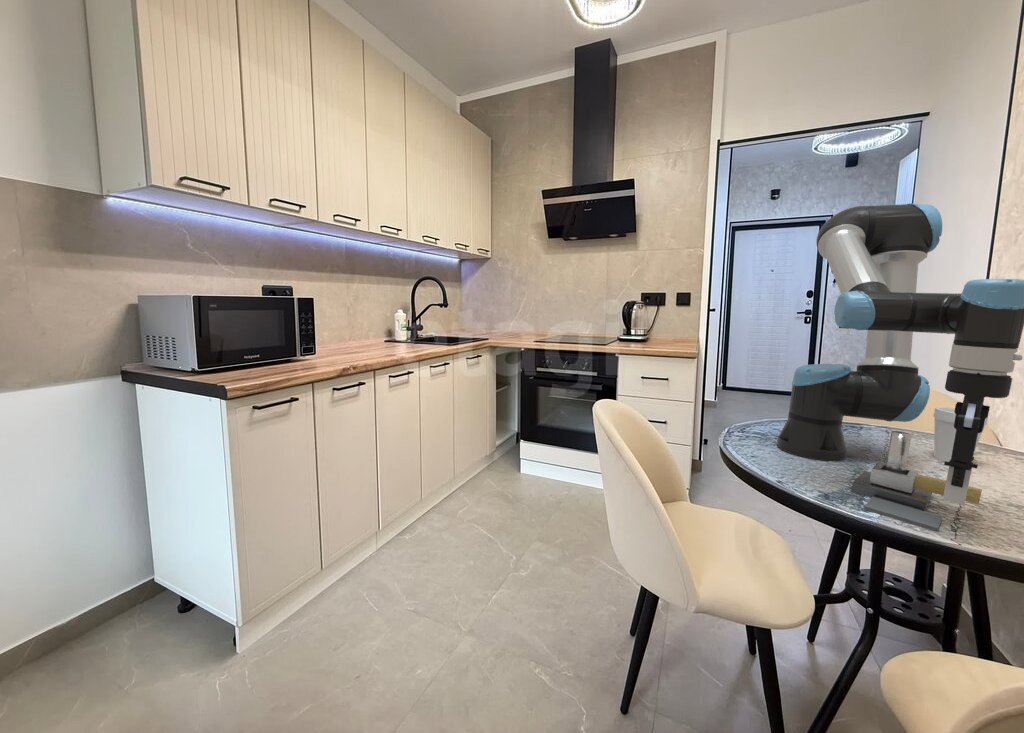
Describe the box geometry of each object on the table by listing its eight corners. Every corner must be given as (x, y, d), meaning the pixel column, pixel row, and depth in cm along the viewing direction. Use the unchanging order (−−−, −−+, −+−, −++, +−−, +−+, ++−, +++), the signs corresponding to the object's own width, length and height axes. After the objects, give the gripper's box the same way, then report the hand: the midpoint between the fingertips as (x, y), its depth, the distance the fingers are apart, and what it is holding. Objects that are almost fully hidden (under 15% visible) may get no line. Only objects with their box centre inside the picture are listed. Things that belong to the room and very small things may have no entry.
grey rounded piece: (924, 451, 117) (933, 405, 115) (973, 460, 111) (983, 411, 110) (928, 460, 110) (937, 411, 108) (981, 470, 104) (991, 418, 102)
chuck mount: (851, 491, 89) (852, 482, 88) (863, 479, 96) (864, 470, 95) (923, 512, 80) (925, 502, 80) (931, 496, 87) (932, 487, 87)
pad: (863, 509, 81) (864, 506, 81) (871, 499, 85) (872, 496, 85) (937, 531, 73) (938, 528, 73) (941, 519, 78) (942, 516, 78)
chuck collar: (869, 482, 88) (871, 468, 88) (875, 475, 92) (878, 461, 92) (977, 510, 77) (980, 495, 76) (979, 501, 81) (982, 486, 80)
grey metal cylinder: (881, 484, 88) (890, 432, 86) (884, 480, 90) (892, 430, 88) (901, 489, 86) (910, 436, 84) (903, 485, 88) (912, 433, 86)
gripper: (1013, 378, 66) (982, 521, 69) (1013, 371, 74) (986, 499, 78) (944, 371, 71) (919, 504, 75) (951, 366, 80) (929, 485, 83)
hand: (953, 501), depth 76 cm, fingers closed
